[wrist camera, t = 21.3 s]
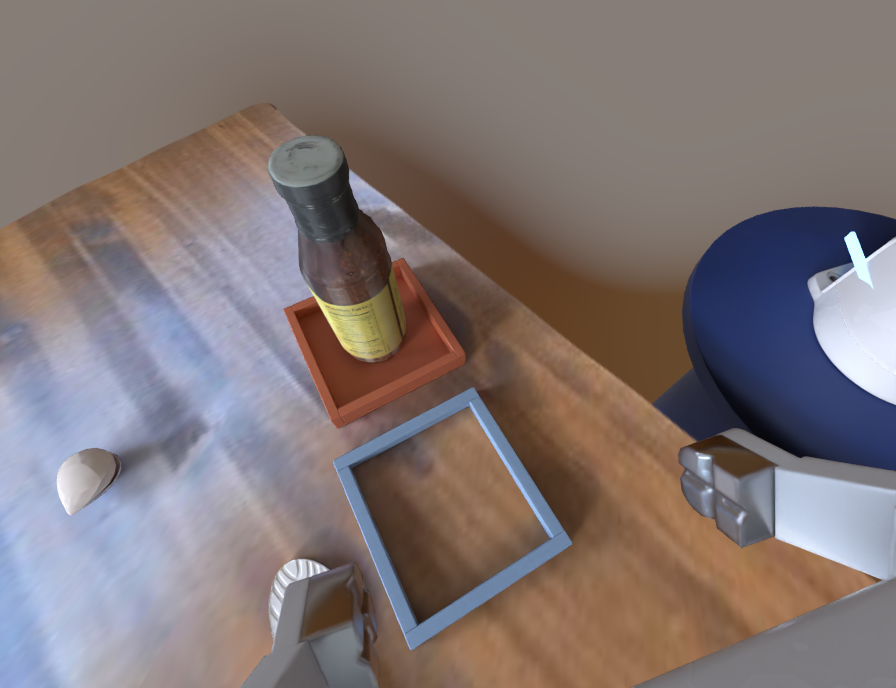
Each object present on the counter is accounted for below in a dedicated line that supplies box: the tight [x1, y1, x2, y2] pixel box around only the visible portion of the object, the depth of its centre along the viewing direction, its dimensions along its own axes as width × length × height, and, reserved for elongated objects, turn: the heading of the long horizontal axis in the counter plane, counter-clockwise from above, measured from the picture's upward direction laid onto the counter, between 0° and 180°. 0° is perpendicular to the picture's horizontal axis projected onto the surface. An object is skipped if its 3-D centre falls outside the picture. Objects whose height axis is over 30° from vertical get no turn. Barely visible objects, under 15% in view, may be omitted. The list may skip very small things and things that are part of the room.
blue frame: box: [333, 387, 573, 650], centre depth 32 cm, size 13×14×1 cm
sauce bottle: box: [268, 135, 406, 362], centre depth 31 cm, size 7×6×20 cm
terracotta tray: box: [283, 258, 466, 429], centre depth 39 cm, size 13×13×2 cm
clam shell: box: [57, 448, 122, 515], centre depth 33 cm, size 4×5×2 cm
